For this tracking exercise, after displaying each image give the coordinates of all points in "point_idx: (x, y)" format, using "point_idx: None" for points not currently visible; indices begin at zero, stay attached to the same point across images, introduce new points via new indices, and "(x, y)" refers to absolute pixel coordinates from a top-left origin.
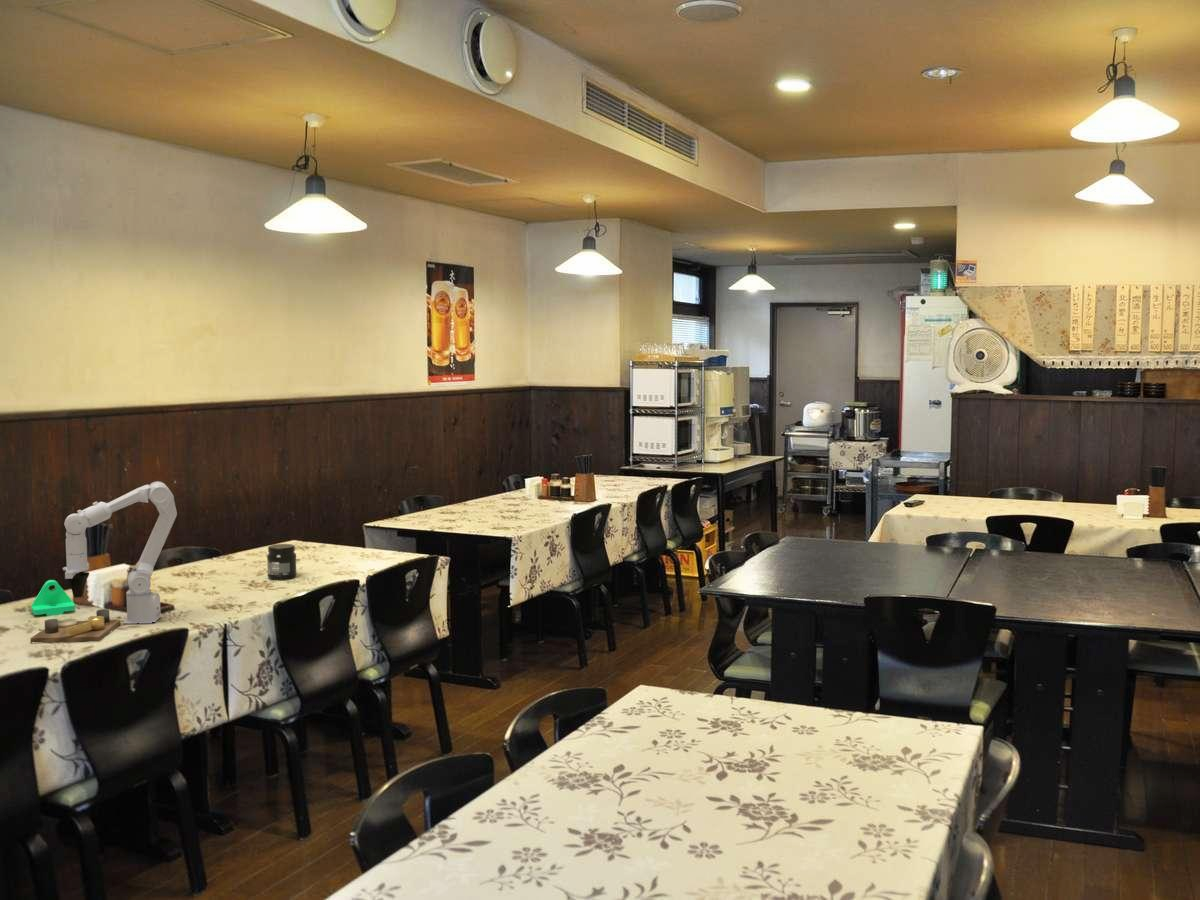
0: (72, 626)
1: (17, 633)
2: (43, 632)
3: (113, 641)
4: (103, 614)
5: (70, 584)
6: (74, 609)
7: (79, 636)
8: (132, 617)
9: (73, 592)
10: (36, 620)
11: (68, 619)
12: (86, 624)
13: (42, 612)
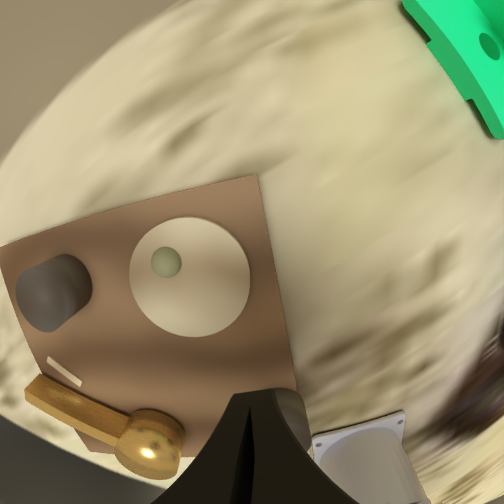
0: (43, 405)
1: (112, 78)
2: (55, 249)
3: (113, 466)
4: None
5: (171, 492)
6: (498, 138)
7: None
8: (323, 469)
9: (219, 428)
10: (354, 25)
11: (240, 269)
12: (96, 434)
13: (423, 22)
